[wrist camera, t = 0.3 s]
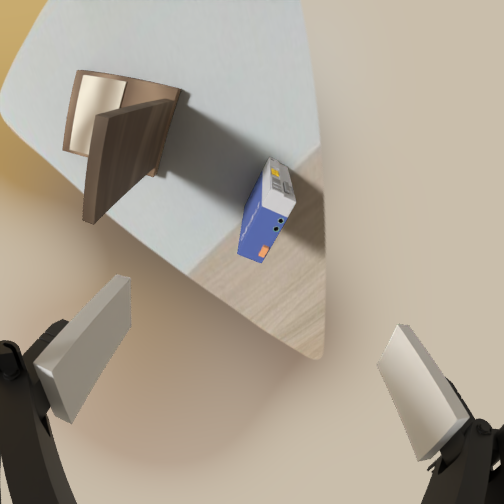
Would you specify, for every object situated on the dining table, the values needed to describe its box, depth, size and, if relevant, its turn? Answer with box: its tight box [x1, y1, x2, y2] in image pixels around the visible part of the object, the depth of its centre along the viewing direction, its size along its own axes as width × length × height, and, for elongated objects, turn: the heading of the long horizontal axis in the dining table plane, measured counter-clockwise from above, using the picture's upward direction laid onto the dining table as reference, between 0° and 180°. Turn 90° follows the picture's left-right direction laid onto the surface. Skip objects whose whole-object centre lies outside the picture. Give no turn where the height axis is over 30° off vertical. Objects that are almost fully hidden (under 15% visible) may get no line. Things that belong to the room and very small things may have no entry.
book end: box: [63, 70, 181, 225], centre depth 25 cm, size 16×12×18 cm
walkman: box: [237, 157, 296, 263], centre depth 32 cm, size 8×3×12 cm, turn 156°
